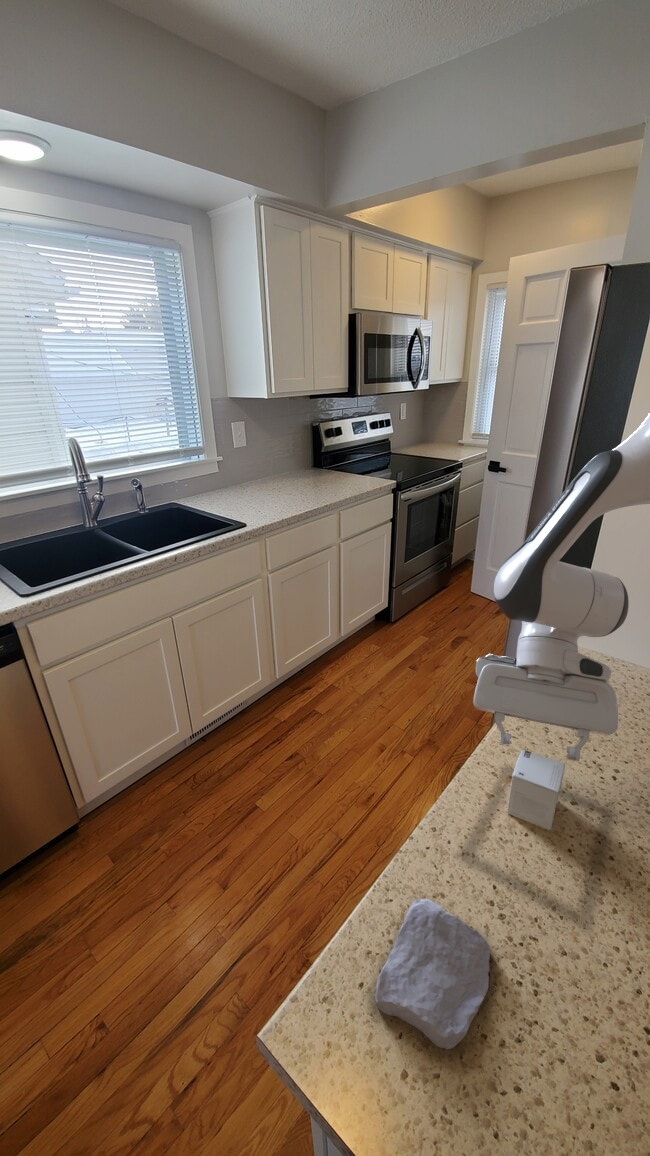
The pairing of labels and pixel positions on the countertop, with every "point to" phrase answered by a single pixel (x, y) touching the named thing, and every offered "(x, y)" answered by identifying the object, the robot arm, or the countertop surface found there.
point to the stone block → (435, 974)
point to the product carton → (535, 789)
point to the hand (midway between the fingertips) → (537, 752)
